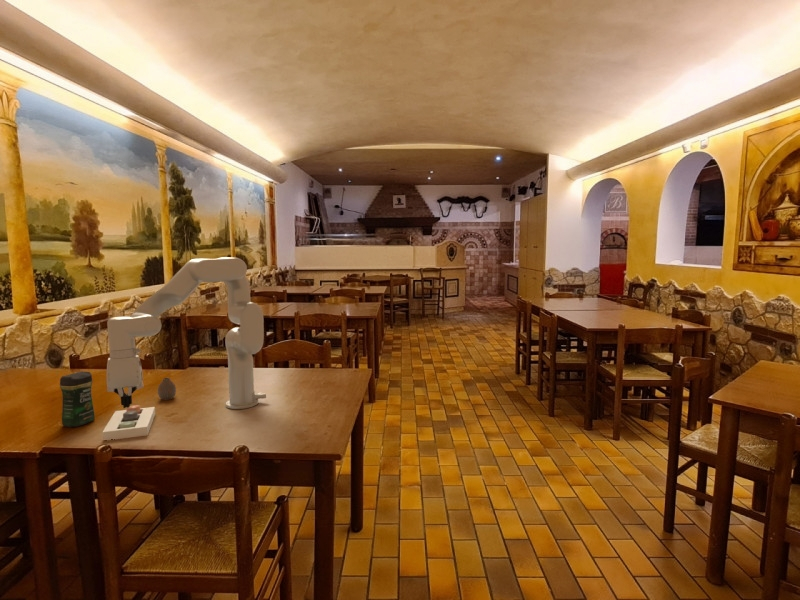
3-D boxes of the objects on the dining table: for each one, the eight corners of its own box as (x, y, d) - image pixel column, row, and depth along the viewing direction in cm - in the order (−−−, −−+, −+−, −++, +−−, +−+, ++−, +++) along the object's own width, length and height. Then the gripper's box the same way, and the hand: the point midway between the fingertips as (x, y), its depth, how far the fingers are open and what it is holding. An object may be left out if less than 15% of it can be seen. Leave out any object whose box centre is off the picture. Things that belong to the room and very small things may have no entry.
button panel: (155, 414, 177) (154, 406, 176) (147, 435, 156) (147, 426, 156) (115, 418, 172) (115, 411, 172) (102, 441, 152) (102, 432, 151)
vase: (168, 401, 192) (167, 381, 191) (154, 400, 193) (153, 380, 193) (180, 396, 199) (179, 376, 198) (165, 395, 200) (164, 375, 199)
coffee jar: (76, 429, 162) (72, 377, 160) (57, 427, 164) (54, 375, 162) (99, 419, 171) (96, 370, 170) (82, 417, 173) (78, 369, 171)
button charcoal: (138, 418, 167) (138, 410, 167) (136, 422, 163) (136, 414, 162) (124, 420, 165) (124, 411, 165) (122, 424, 161) (121, 415, 161)
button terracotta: (141, 412, 173) (141, 404, 173) (139, 416, 169) (139, 408, 169) (128, 413, 172) (127, 405, 171) (126, 417, 168) (125, 409, 167)
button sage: (135, 429, 160) (135, 420, 160) (133, 433, 156) (133, 424, 156) (121, 430, 159) (120, 422, 159) (118, 435, 155) (118, 426, 155)
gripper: (149, 349, 161) (153, 400, 163) (99, 353, 156) (103, 406, 158) (146, 353, 154) (150, 407, 156) (94, 358, 149) (98, 413, 151)
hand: (126, 406), depth 157 cm, fingers closed
